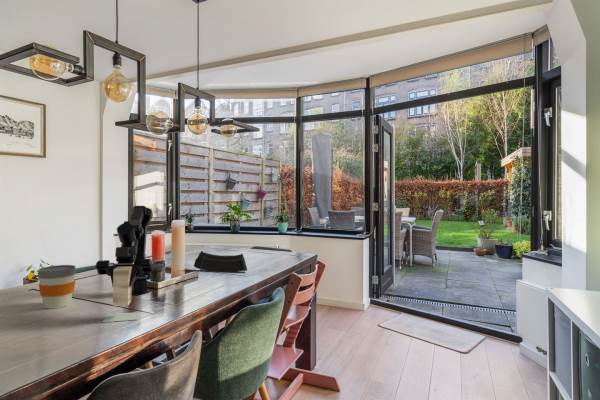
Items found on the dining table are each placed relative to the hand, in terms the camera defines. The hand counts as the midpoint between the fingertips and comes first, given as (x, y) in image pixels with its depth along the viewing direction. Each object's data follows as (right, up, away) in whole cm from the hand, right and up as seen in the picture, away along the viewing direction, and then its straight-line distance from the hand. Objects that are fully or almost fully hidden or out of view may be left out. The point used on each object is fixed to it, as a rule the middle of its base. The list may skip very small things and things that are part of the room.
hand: (121, 286), depth 125 cm
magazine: (+18, -11, +78) cm, 81 cm away
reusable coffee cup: (-33, -11, +15) cm, 38 cm away
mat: (0, -12, +1) cm, 12 cm away
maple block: (-1, -7, +2) cm, 7 cm away
